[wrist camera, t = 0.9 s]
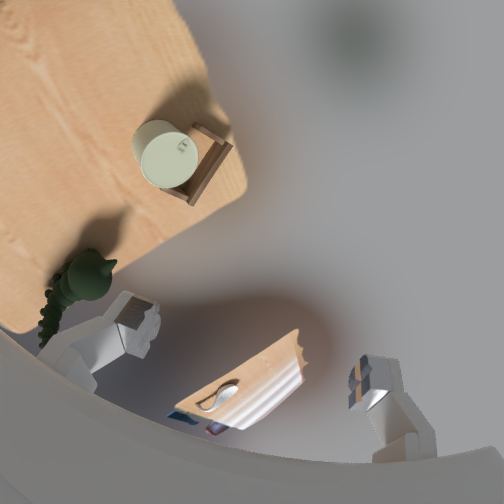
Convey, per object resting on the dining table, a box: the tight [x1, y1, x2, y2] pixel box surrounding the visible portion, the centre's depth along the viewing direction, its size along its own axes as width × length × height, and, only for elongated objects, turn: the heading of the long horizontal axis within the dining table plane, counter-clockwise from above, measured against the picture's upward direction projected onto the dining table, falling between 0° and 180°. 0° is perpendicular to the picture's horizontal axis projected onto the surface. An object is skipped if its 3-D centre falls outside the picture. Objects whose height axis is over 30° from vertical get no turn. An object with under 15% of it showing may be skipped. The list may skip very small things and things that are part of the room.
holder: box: [160, 123, 233, 206], centre depth 50 cm, size 7×14×5 cm, turn 140°
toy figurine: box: [38, 249, 117, 349], centre depth 45 cm, size 9×19×25 cm
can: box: [132, 120, 199, 188], centre depth 42 cm, size 9×9×12 cm
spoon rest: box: [195, 384, 238, 412], centre depth 120 cm, size 24×12×7 cm, turn 111°
